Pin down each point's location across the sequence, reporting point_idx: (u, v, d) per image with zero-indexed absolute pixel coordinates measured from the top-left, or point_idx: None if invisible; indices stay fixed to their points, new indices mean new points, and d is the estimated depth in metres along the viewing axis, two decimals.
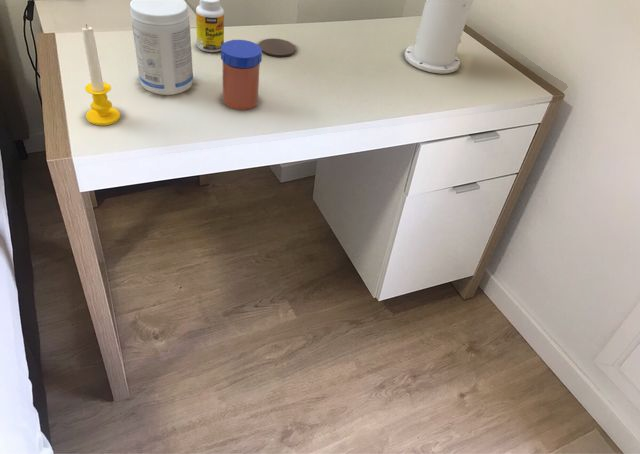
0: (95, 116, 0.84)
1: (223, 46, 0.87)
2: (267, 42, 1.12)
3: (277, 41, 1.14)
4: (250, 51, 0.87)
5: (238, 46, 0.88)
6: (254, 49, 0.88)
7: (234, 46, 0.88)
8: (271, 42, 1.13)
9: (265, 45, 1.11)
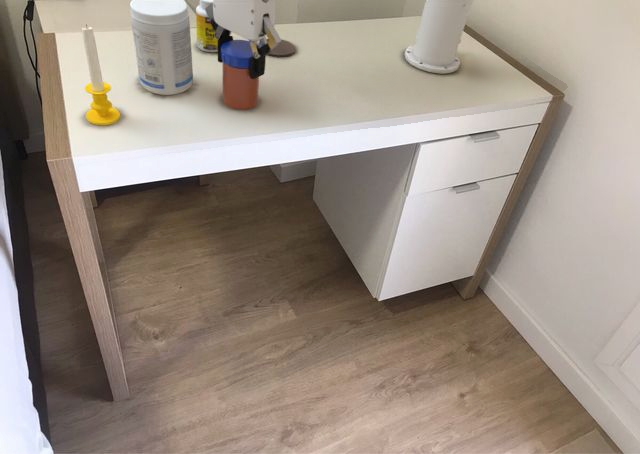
0: (95, 116, 0.84)
1: (223, 46, 0.87)
2: None
3: None
4: (250, 51, 0.87)
5: (238, 46, 0.88)
6: None
7: (234, 46, 0.88)
8: None
9: None
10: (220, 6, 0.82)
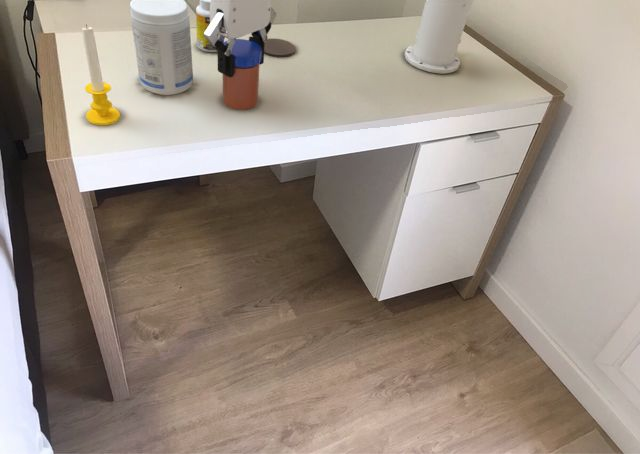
0: (95, 116, 0.84)
1: (240, 55, 0.85)
2: (267, 42, 1.12)
3: (277, 41, 1.14)
4: (246, 44, 0.89)
5: (237, 48, 0.87)
6: (241, 42, 0.89)
7: (238, 50, 0.86)
8: (271, 42, 1.13)
9: (265, 45, 1.11)
10: (241, 16, 0.80)
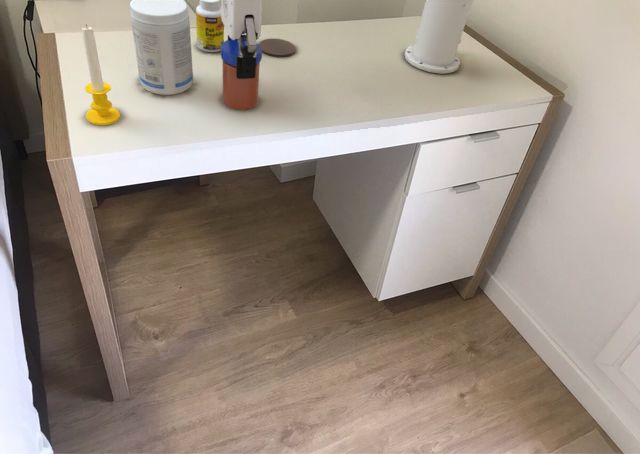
0: (95, 116, 0.84)
1: None
2: (267, 42, 1.12)
3: (277, 41, 1.14)
4: (237, 42, 0.88)
5: None
6: (231, 43, 0.88)
7: None
8: (271, 42, 1.13)
9: (265, 45, 1.11)
10: None
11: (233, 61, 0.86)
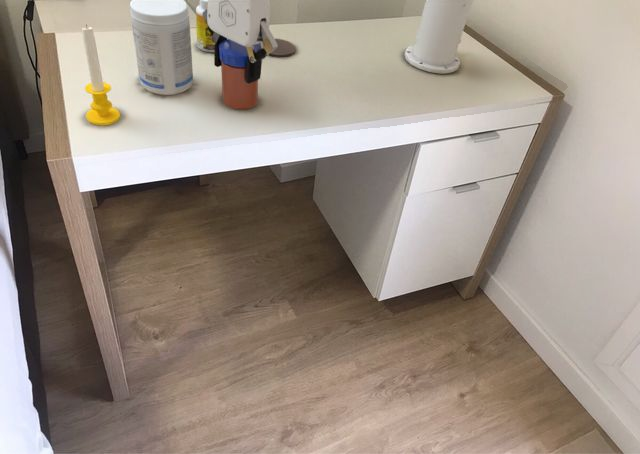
0: (95, 116, 0.84)
1: None
2: None
3: (277, 41, 1.14)
4: (230, 44, 0.88)
5: (242, 48, 0.87)
6: (226, 46, 0.87)
7: (246, 48, 0.87)
8: None
9: None
10: None
11: (244, 62, 0.86)
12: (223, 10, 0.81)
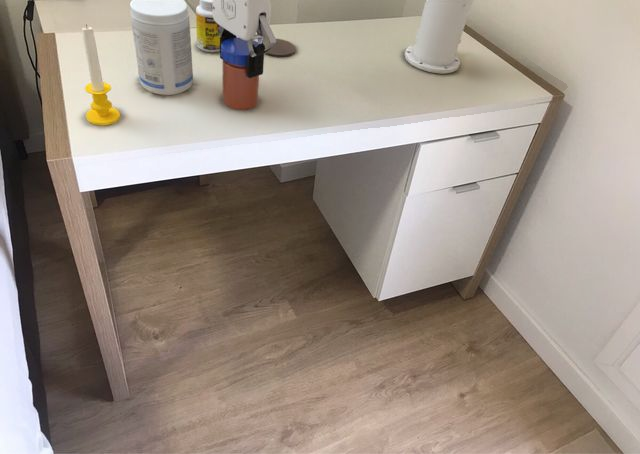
0: (95, 116, 0.84)
1: (224, 42, 0.87)
2: None
3: (277, 41, 1.14)
4: None
5: (239, 44, 0.88)
6: None
7: (235, 43, 0.88)
8: None
9: None
10: None
11: None
12: (225, 3, 0.81)
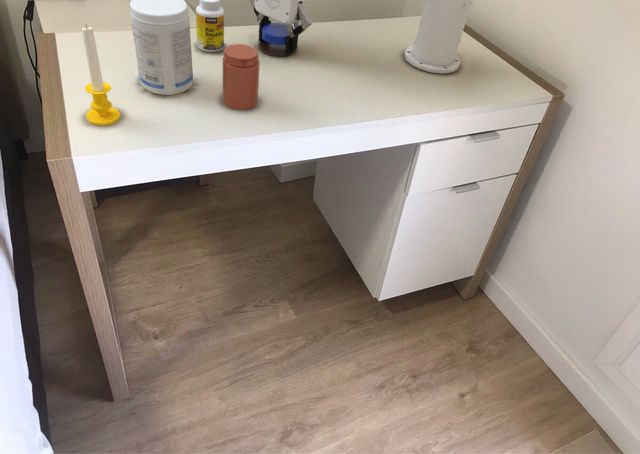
0: (95, 116, 0.84)
1: (264, 28, 1.09)
2: (267, 42, 1.12)
3: None
4: (285, 32, 1.09)
5: (275, 28, 1.09)
6: None
7: (272, 28, 1.09)
8: None
9: (265, 45, 1.11)
10: None
11: None
12: None
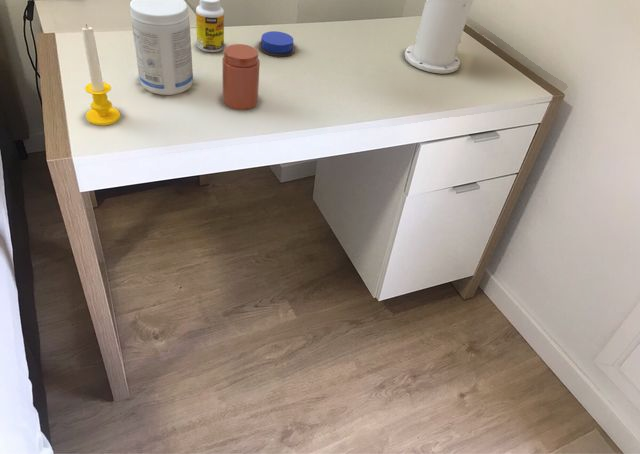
0: (95, 116, 0.84)
1: (263, 36, 1.10)
2: None
3: None
4: (284, 40, 1.10)
5: (275, 36, 1.11)
6: (287, 39, 1.11)
7: (271, 36, 1.11)
8: None
9: None
10: None
11: None
12: None
